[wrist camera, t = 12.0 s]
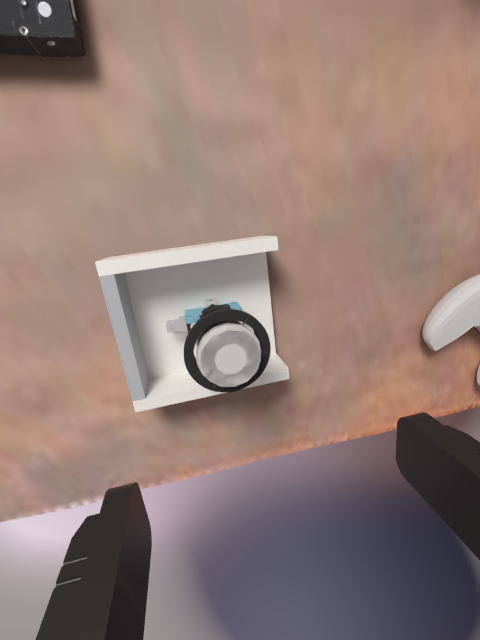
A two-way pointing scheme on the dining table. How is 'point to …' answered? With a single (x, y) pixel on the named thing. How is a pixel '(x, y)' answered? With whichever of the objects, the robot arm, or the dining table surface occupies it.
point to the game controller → (454, 315)
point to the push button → (223, 346)
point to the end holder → (182, 310)
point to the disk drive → (40, 28)
